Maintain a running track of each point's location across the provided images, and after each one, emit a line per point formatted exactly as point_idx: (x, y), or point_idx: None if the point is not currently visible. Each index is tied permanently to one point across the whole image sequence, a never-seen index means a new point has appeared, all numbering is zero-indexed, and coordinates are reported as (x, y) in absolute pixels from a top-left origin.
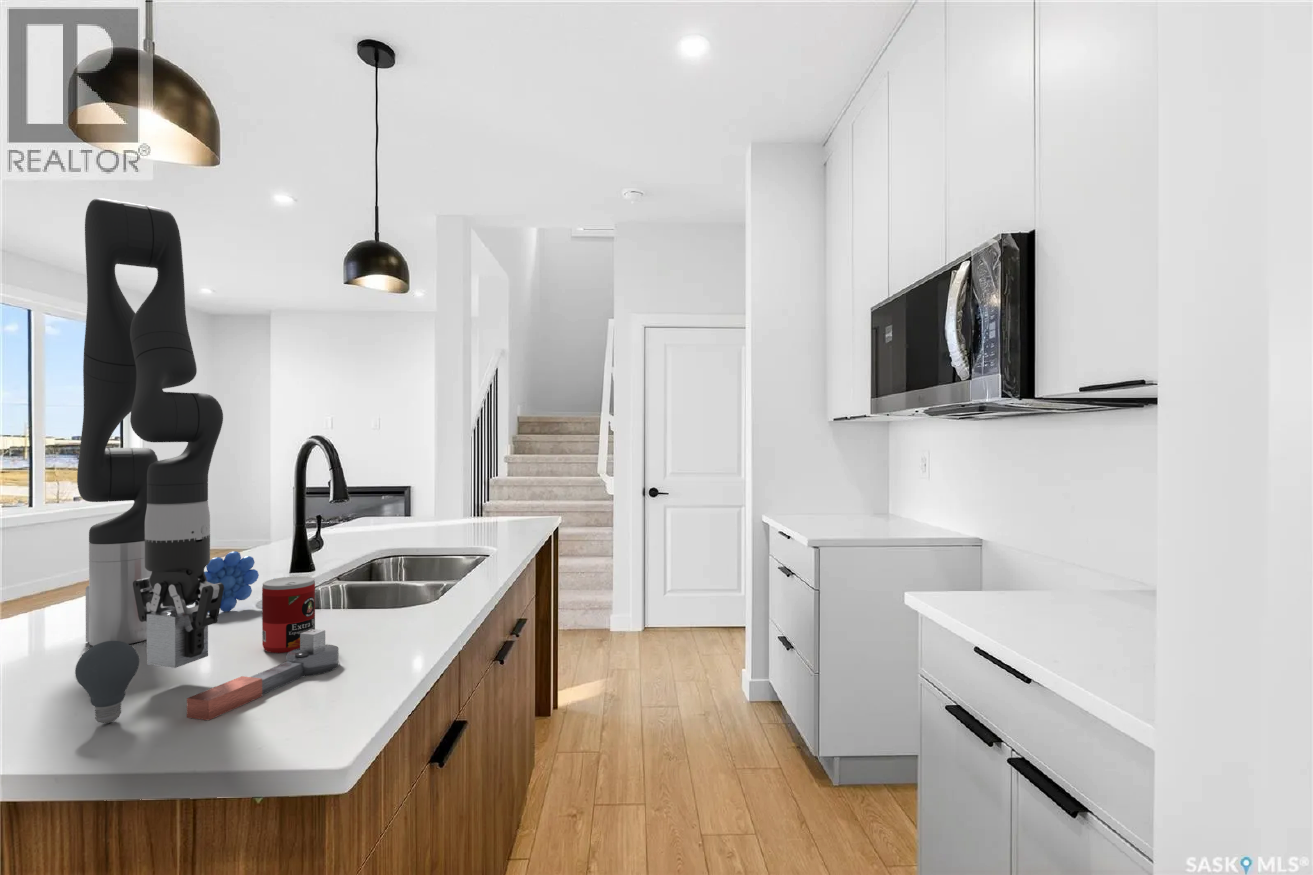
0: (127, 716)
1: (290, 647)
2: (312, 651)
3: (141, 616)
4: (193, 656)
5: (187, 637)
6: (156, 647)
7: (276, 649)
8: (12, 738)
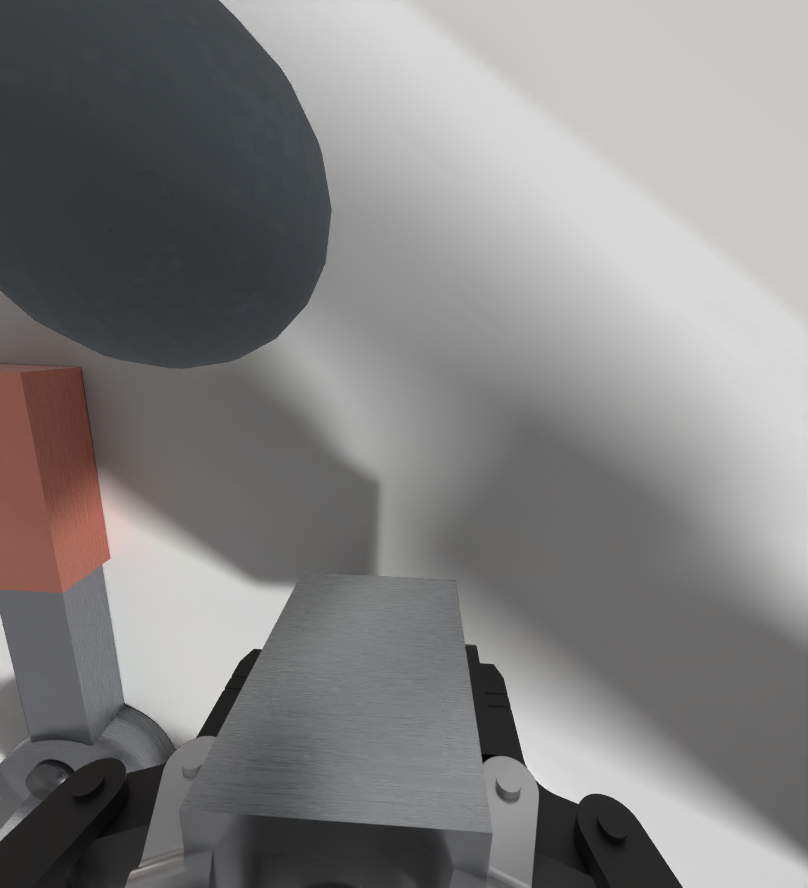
0: (283, 334)
1: None
2: (27, 804)
3: (614, 836)
4: None
5: None
6: (398, 630)
7: None
8: (488, 75)
